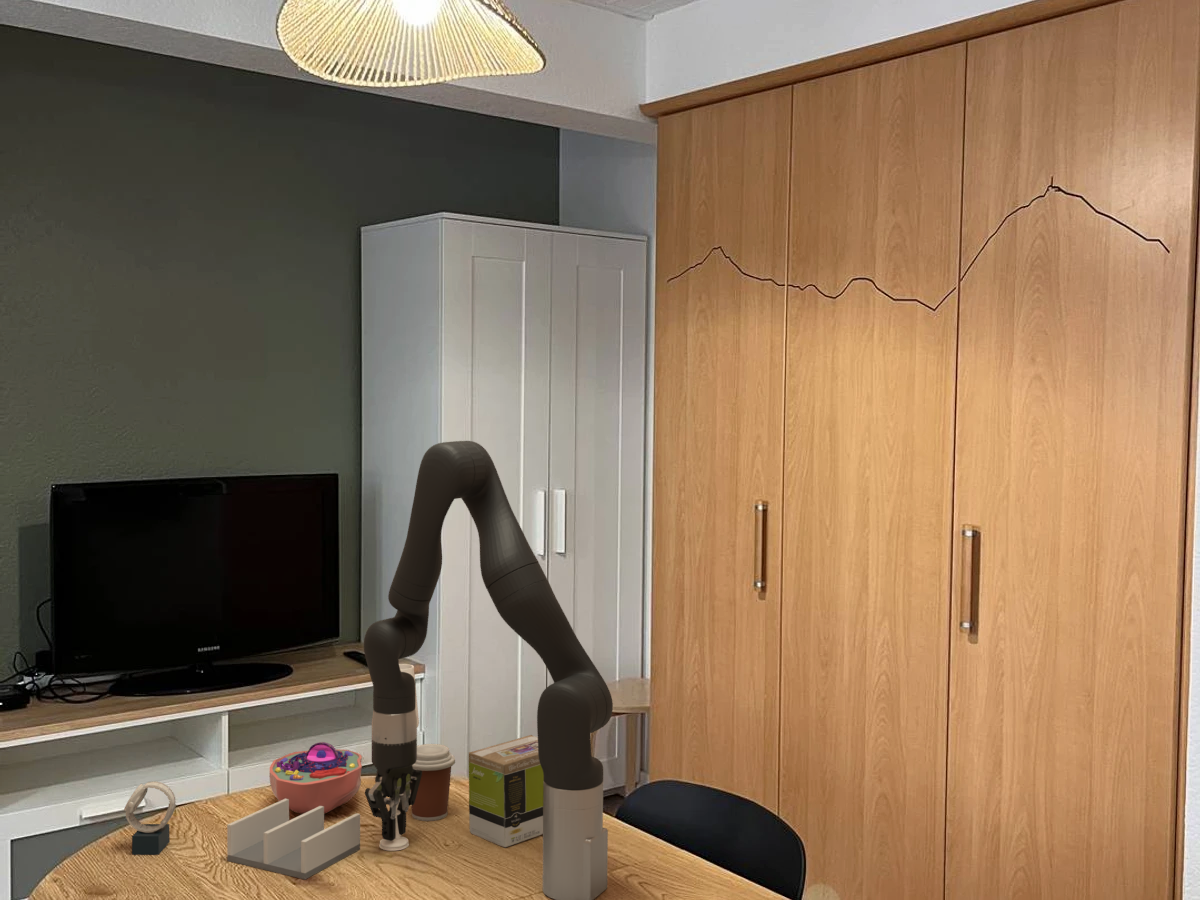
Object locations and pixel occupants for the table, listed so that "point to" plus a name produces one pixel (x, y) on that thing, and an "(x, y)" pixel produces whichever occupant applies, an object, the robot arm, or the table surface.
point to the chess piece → (398, 842)
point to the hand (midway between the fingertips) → (394, 836)
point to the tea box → (506, 792)
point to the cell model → (316, 777)
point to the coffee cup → (432, 782)
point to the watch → (149, 835)
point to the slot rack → (291, 840)
